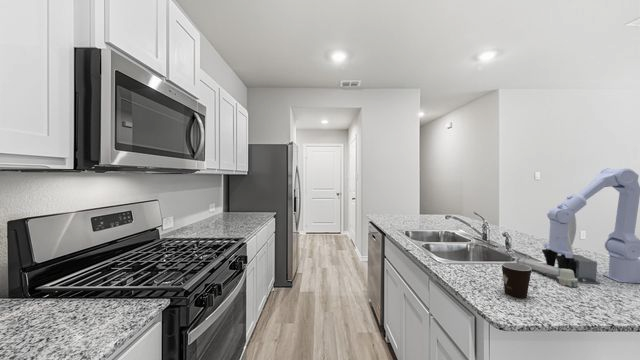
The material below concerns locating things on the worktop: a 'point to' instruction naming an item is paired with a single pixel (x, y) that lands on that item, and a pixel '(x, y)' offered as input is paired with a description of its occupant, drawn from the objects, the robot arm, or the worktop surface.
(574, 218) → the skyscraper
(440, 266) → the worktop surface
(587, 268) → the bracket sleeve
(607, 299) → the worktop surface
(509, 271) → the coffee mug
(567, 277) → the light grey piece
